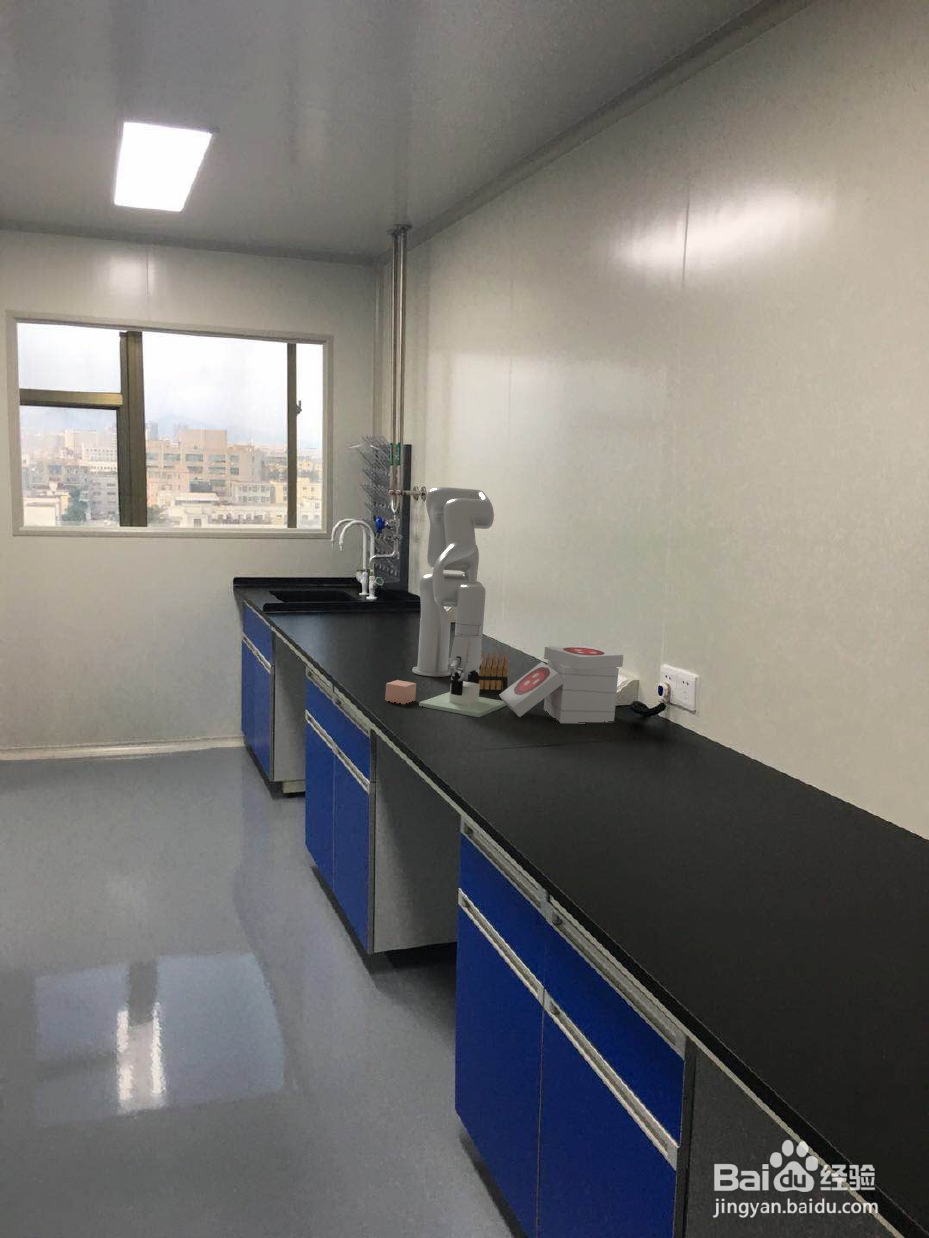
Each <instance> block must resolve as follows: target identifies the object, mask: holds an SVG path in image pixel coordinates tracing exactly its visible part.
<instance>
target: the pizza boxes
mask: <svg viewBox="0 0 929 1238" xmlns="http://www.w3.org/2000/svg"><path fill="white" fill-rule="evenodd" d="M543 659H544V660H547V664H546V663H544V662H543V661H541V662H539V663H538V664H537V665H536V666H534V667H533V668H532V669H530V670H529V671H528V672H527V673H525V674H524V675H523V676H521V677H520V678H518V679H517V680H516V681H515V682H514V683H511V685H510V686H507V689H506V690H505V691H503V692H502V693H501V694H498V696H499V698H500V699H501V701H504V703H505V704H506V705H507V706H506V707H508V708H509V709H511V711H512V712H513V713H514V714H516V716H518V717H519V718H521V717H522V716H523V715H524V714H526V713H527V712H528V711H530V710H531V709H532V708H534V707H535V706H536V705H538V704H539V703H541V701H542V700H544V705H543V710H544V711H545V712H546V711H547V712H548V713H549V714H548V713H547V712H546V713H547V714H548V715H550V716H551V717H552V718H553V719H554V718H556V719H557V720H558V721H559V722H560V724H579V723H578V722H604V721H605V722H608V721H614V722H615V713H616V703H617V691H618V681H619V679H618V678H619V671H620V670H619V668H623V666H624V663H623V662H624V654H622V653H617V652H615V651H610V650H607V649H604V648H599V647H596V646H592V645H589V644H583V645H582V644H581V645H559V646H557V645H556V646H555V645H554V646H544V654H543ZM556 719H555V720H556ZM557 720H556V721H557ZM558 721H557V722H558ZM559 722H558V723H559Z"/></svg>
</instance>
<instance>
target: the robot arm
mask: <svg viewBox="0 0 929 1238" xmlns="http://www.w3.org/2000/svg"><path fill="white" fill-rule="evenodd" d="M425 505H426V511H427V515H428V516H427V517H428V519H429V535H428V542H427V543H428V545H427V555H426V556H427V557H426V559H427V564H428V567H430V568H431V569H432V572H430V573H426V574H424V575H423V576H422V577H420V580H419V585H418V586H419V598H420V600H419V601H420V619H419V620H420V621H419V635H418V636H419V637H418V651H417V652H418V653H417V654H418V655H417V666H413V667H412V673H413V674H415V675H418V676H425V677H432V678H433V677H435V678H436V677H438V678H439V677H449V676H451V677H450V680H451V683H450V684H451V694H453V695H459V696H461V695H462V692H463V681H464V680H463V679H464V676H465V674H467V682H471V683H477V684H479V675H480V669H481V663H482V660H483V658H482V657H481V654H482V637H483V634H484V633H483V632H484V619H485V607H486V594H487V593H486V592H487V591H486V588H485V586H484V585H483V583H481V582H480V581H478V570H479V561H480V559H479V558H480V552H479V547H478V545H477V542H476V541H477V540H476V531H475V529H477V530H479V529H481V530H488V529H490V528H491V527H492V526H493V524H494V521H495V519H494V518H495V512H494V507H493V504H492V502H491V500H490V499H489V497H488V496H487V494H486V493H485V491H482V490H480V489H474V488H473V489H471V488H460V487H459V488H458V487H447V486H443V487H442V486H441V487H439V486H438V487H432V488H431V489H429V490H428V491H427V494H426V498H425ZM444 571H455V572H456V571H458V572H461V574H460V573H448V572H445V573H444ZM445 607H446V608H447V607H448V608H456V611H455V613H456V614H455V626H454V627H455V628H454V638H453V643H452V647H451V655H450V657H449V653H450V641H451V640H450V638H451V637H450V636H451V622H452V621H451V616H450V614H449V612H448V611H447V609H446V608H445Z"/></svg>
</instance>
